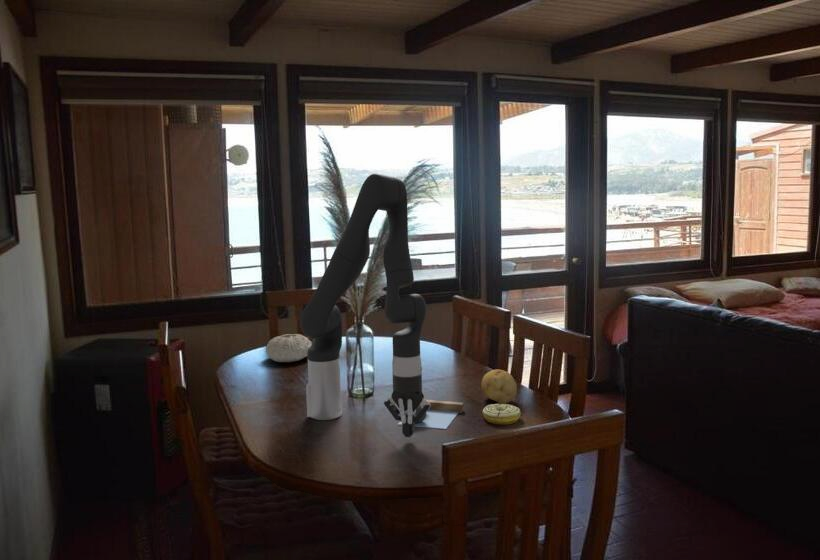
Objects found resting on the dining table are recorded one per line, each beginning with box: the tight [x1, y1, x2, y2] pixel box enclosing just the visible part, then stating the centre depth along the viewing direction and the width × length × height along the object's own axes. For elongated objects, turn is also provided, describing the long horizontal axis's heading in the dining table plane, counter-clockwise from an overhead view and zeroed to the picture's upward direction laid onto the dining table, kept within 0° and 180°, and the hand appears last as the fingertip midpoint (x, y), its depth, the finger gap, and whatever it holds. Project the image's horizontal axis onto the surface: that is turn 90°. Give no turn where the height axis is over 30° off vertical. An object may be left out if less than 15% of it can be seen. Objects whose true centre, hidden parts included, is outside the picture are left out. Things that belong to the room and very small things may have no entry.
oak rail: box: [426, 399, 465, 414], centre depth 198 cm, size 16×2×2 cm, turn 71°
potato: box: [480, 369, 518, 404], centre depth 204 cm, size 10×12×10 cm
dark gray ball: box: [414, 404, 426, 423], centre depth 188 cm, size 6×6×6 cm
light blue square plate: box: [397, 409, 460, 430], centre depth 191 cm, size 14×14×1 cm
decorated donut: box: [482, 403, 522, 426], centre depth 189 cm, size 10×11×4 cm
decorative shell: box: [265, 333, 313, 363], centre depth 260 cm, size 18×18×10 cm
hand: (408, 436), depth 174 cm, fingers closed
